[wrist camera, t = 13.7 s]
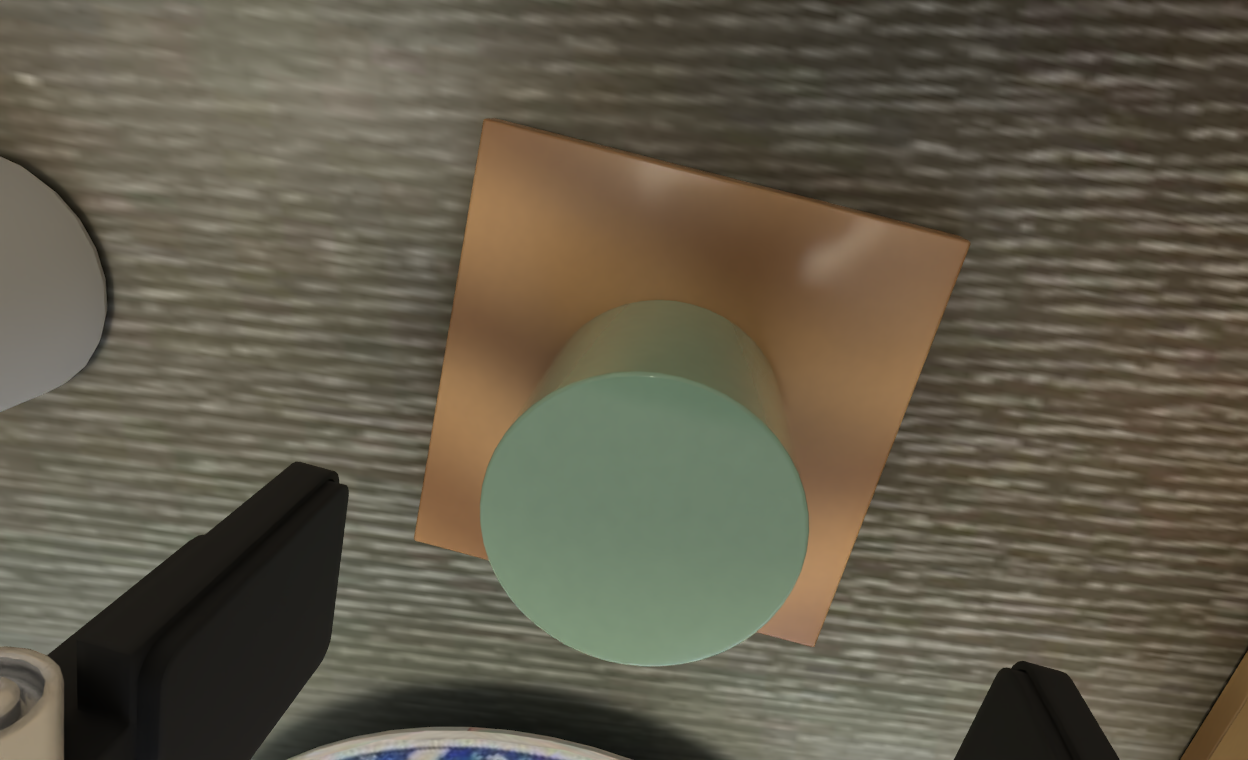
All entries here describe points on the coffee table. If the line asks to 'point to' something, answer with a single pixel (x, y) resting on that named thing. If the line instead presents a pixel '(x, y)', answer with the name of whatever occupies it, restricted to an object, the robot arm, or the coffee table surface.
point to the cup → (44, 289)
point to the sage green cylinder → (649, 490)
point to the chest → (1225, 723)
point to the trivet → (696, 274)
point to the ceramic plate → (455, 746)
